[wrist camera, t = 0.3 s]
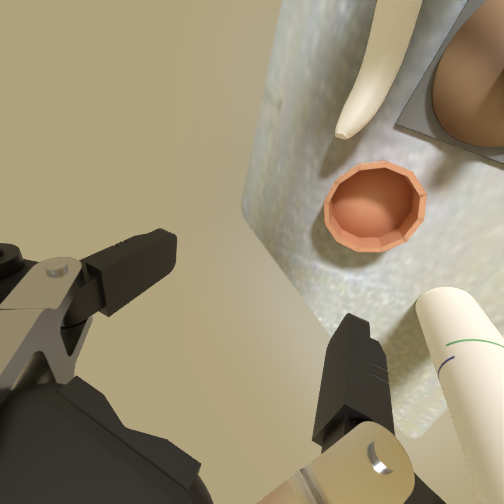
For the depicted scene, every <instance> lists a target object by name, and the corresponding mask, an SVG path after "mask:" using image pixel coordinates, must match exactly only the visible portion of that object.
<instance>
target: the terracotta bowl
mask: <svg viewBox="0 0 504 504" xmlns="http://www.w3.org/2000/svg"><path fill="white" fill-rule="evenodd" d="M426 198H427V194H426V192H425V191H424V189H423V187H422V186H421V184H420V183H419V181H418V179H417V178H416V176H415V175H414V173H413V172H412V171H410V170H407V169H405V168H402V167H400V166H397V165H395V164H392V163H390V162H387V161H385V160H378V161H371V162H364V163H358V164H357V165H355V166H354V167H352V168H351V169H349V170H348V171H346V172H345V173H344V174H342V175H341V176H339V177H338V178H337V179H336V180H335V182H334V184H333V186H332V188H331V190H330V192H329V194H328V195H327V197H326V199H325V201H324V219H325V225H326V227H327V228H328V230H329V231H330V233H331V234H332V236H333V237H334V239H335V240H336V241H337V242H338V243H340V244H342V245H344V246H346V247H348V248H350V249H352V250H354V251H356V252H384V251H386V250H388V249H391V248H393V247H395V246H397V245H400V244H402V243H404V242H406V241H408V239H409V238H410V237H411V236H412V234H413V233H414V232H415V231H416V229H417V228H418V227H419V226H420V225H421V223H422V222H423V221H424V216H425V207H426Z"/></svg>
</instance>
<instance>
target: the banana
mask: <svg viewBox="0 0 504 504" xmlns="http://www.w3.org/2000/svg"><path fill="white" fill-rule="evenodd" d="M422 1H423V0H377V4H376V8H375V13H374V18H373V22H372V27H371V31H370V35H369V40H368V44H367V48H366V52H365V55H364V59H363V62H362V65H361V68H360V71H359V74H358V77H357V79H356V82H355V84H354V86H353V89H352V91H351V93H350V95H349V97H348V99H347V101H346V103H345V105H344V107H343V109H342V112H341V114H340V117H339V120H338V123H337V125H336V129H335V137H337V138H340V139H344V140H345V139H349V138H350V137H352V136H353V135H355V134H356V133H357V132H359V131H360V130H361V129H362V128H363V127H364V126H365V125H366V124H367V123H368V122H369V121H370V120H371V119H372V118H373V116H374V115H375V114H376V112H377V111H378V109H379V108H380V106H381V105H382V103H383V101H384V99H385V97H386V95H387V94H388V92H389V90H390V88H391V86H392V83H393V81H394V79H395V77H396V75H397V73H398V71H399V68H400V66H401V64H402V61H403V59H404V56H405V53H406V51H407V48H408V45H409V42H410V39H411V36H412V33H413V30H414V27H415V24H416V21H417V17H418V14H419V11H420V8H421V5H422Z"/></svg>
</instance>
